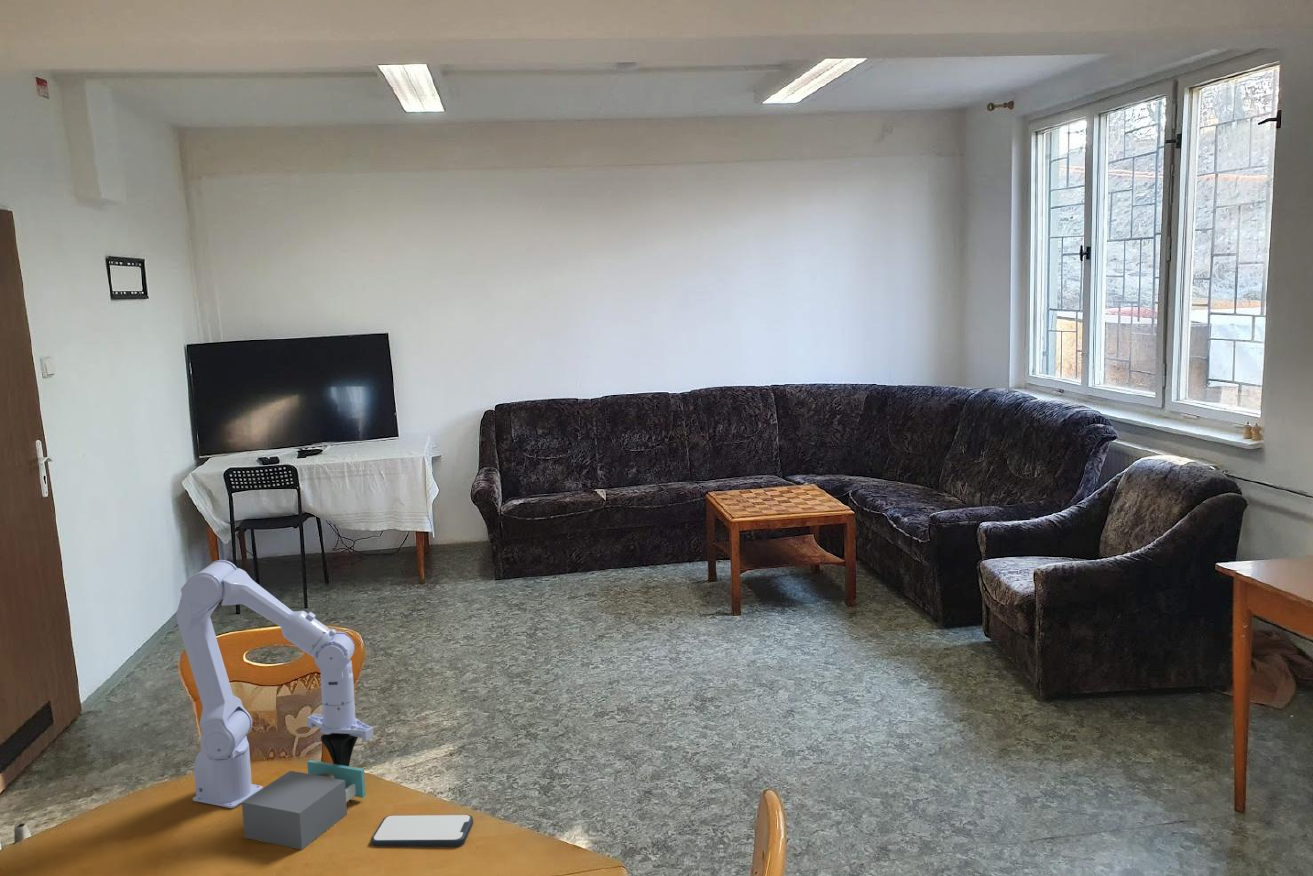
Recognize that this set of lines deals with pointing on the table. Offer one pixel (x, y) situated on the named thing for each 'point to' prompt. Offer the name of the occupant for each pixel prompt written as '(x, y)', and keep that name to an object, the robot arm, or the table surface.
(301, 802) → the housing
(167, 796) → the table surface
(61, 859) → the table surface
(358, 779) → the tray
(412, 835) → the smartphone
